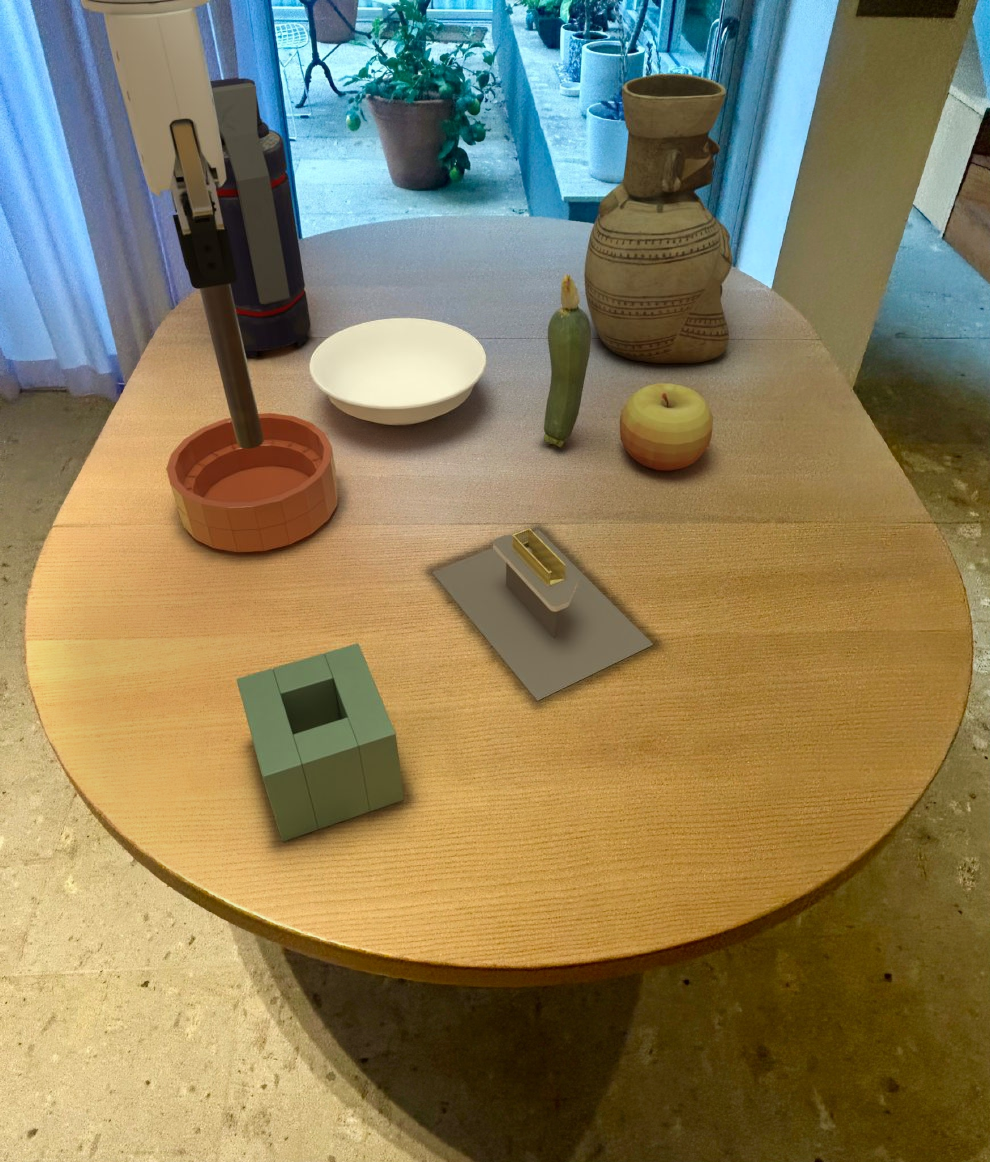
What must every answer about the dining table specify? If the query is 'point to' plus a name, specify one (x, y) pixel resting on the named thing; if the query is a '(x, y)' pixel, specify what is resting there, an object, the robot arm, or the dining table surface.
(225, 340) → the stick
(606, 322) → the ceramic vessel
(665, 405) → the apple
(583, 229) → the dining table surface
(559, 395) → the vegetable
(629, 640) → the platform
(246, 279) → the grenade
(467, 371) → the bowl
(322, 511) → the mixing bowl
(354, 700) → the stand
